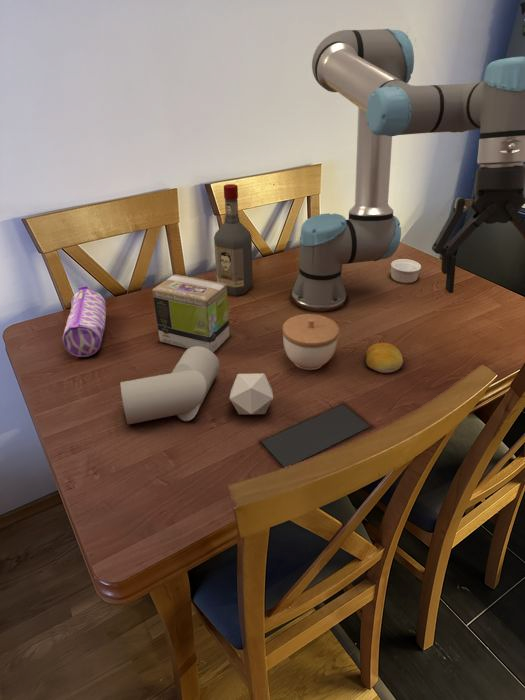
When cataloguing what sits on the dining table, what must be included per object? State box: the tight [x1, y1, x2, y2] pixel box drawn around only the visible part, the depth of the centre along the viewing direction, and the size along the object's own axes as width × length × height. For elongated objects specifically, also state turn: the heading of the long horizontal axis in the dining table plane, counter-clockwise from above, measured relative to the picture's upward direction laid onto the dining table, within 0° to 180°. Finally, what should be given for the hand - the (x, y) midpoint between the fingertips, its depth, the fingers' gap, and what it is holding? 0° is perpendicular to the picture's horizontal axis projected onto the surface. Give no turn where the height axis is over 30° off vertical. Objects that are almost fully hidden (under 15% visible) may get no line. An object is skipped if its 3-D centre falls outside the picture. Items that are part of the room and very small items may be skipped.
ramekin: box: [390, 258, 422, 284], centre depth 150 cm, size 9×9×4 cm
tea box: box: [151, 273, 230, 353], centre depth 118 cm, size 15×10×15 cm
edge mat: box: [260, 404, 371, 468], centre depth 94 cm, size 20×8×1 cm, turn 122°
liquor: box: [213, 183, 254, 297], centre depth 137 cm, size 9×9×30 cm
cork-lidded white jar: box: [282, 313, 340, 371], centre depth 111 cm, size 13×13×11 cm
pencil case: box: [62, 285, 107, 358], centre depth 121 cm, size 22×9×10 cm, turn 14°
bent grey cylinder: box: [120, 346, 221, 425], centre depth 99 cm, size 18×11×20 cm
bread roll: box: [365, 342, 404, 374], centre depth 112 cm, size 8×9×4 cm
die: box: [229, 373, 274, 415], centre depth 98 cm, size 8×9×10 cm
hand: (488, 290), depth 89 cm, fingers open, 13 cm apart
